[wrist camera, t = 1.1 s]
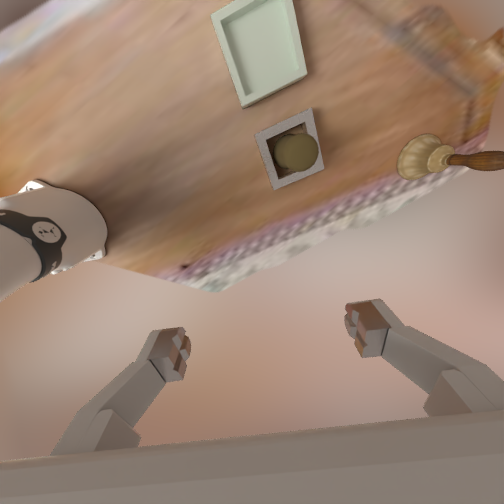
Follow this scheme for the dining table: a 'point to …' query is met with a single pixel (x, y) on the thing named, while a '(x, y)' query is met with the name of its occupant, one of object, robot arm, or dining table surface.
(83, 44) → the dining table surface
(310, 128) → the grey square frame
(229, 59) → the sage tray
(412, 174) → the hand bell
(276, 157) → the cork
